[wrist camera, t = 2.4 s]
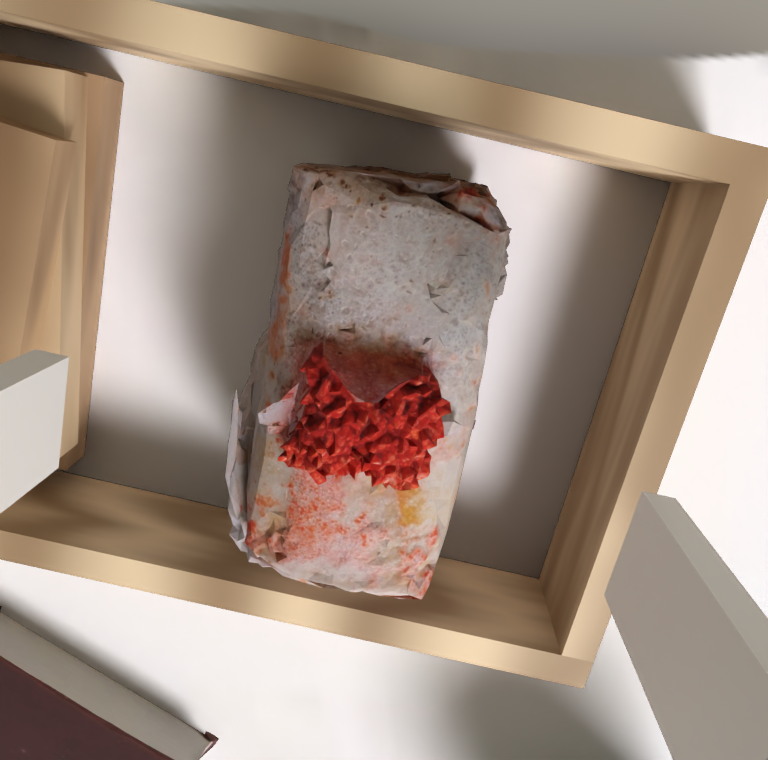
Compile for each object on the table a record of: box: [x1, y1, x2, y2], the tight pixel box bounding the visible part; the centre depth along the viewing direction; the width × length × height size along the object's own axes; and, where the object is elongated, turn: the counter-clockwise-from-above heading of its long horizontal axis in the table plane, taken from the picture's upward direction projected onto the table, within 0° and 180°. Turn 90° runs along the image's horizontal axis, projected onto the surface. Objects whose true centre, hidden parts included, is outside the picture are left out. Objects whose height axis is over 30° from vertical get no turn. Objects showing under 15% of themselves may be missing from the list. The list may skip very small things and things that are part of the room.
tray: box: [0, 0, 768, 689], centre depth 25 cm, size 28×19×5 cm
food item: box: [225, 163, 512, 599], centre depth 23 cm, size 14×8×10 cm, turn 172°
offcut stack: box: [0, 52, 124, 471], centre depth 25 cm, size 6×15×5 cm, turn 167°
